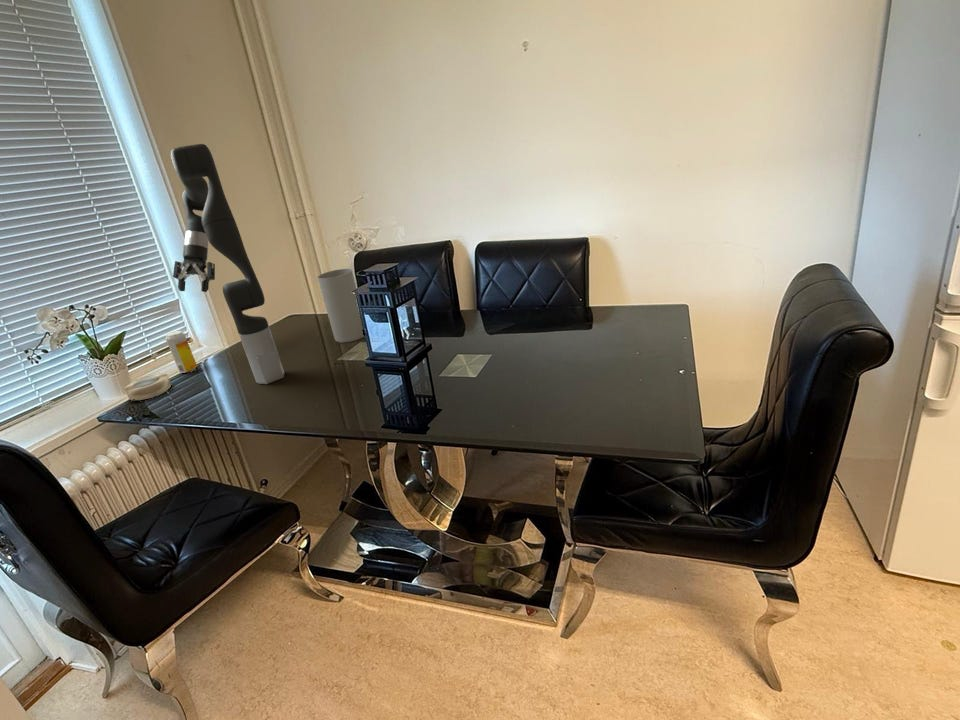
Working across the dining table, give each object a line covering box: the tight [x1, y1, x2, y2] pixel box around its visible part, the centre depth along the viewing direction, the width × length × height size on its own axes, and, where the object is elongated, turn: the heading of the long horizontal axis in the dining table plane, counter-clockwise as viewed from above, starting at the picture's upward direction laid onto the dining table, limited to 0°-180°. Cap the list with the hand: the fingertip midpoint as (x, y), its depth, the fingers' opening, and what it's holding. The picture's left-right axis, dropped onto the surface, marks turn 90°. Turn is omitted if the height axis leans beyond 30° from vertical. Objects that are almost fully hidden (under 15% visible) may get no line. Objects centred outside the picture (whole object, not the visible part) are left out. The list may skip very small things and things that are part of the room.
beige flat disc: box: [124, 373, 173, 401], centre depth 176 cm, size 13×13×4 cm
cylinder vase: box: [316, 268, 365, 344], centre depth 194 cm, size 12×12×25 cm
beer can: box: [165, 330, 198, 374], centre depth 188 cm, size 6×6×15 cm
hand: (193, 291), depth 184 cm, fingers open, 8 cm apart
